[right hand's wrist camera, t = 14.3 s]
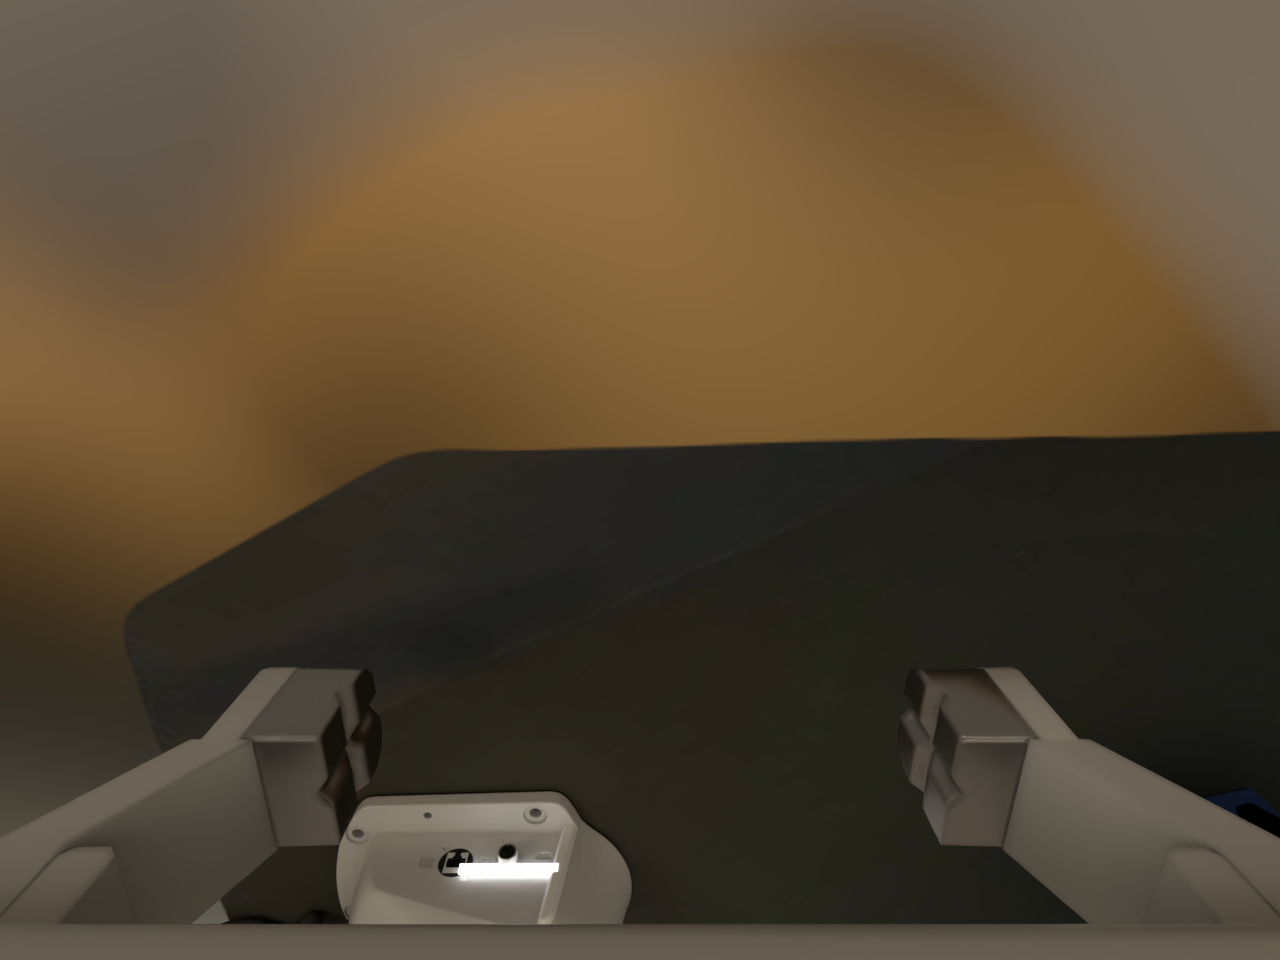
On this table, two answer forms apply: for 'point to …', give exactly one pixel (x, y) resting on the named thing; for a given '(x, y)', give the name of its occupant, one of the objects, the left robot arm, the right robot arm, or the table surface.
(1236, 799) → the block
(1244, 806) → the left robot arm
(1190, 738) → the table surface
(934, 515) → the table surface
